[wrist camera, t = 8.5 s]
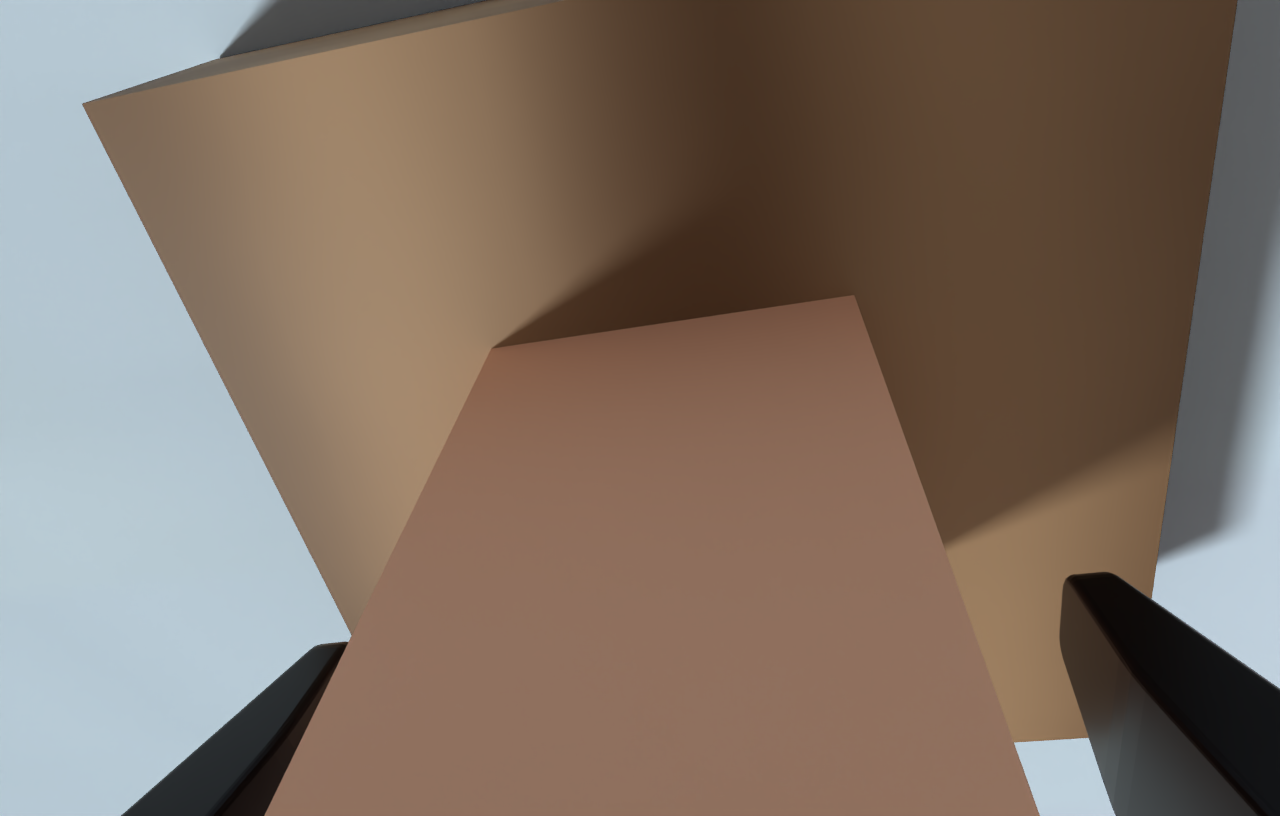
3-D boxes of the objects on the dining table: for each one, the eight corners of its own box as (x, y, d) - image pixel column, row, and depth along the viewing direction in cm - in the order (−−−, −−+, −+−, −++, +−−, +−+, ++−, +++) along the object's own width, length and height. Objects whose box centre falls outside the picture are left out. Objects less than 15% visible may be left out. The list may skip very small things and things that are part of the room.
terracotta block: (573, 608, 13) (456, 1219, 7) (491, 348, 11) (214, 921, 5) (875, 580, 12) (1031, 1236, 6) (853, 295, 10) (1066, 891, 4)
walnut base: (466, 653, 18) (424, 779, 15) (216, 59, 12) (81, 103, 9) (1065, 600, 16) (1131, 735, 14) (1119, -138, 10) (1258, -148, 8)
